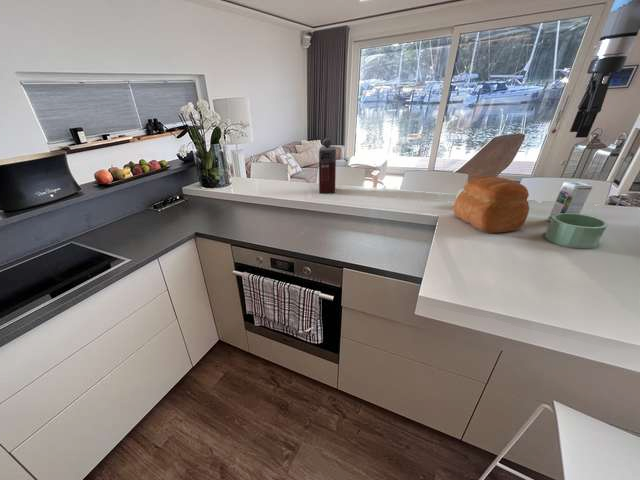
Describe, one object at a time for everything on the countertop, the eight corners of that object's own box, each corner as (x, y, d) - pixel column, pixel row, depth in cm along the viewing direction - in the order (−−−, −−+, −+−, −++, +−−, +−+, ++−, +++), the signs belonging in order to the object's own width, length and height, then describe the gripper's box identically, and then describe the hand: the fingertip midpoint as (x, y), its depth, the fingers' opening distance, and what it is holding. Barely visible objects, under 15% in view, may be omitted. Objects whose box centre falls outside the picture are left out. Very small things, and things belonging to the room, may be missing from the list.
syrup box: (546, 219, 110) (562, 181, 102) (564, 219, 109) (581, 181, 101) (556, 225, 105) (574, 186, 97) (575, 225, 104) (594, 185, 97)
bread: (481, 235, 102) (495, 189, 94) (447, 215, 121) (456, 174, 112) (528, 231, 103) (547, 184, 94) (487, 211, 121) (500, 170, 113)
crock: (573, 230, 100) (582, 212, 97) (608, 247, 89) (620, 226, 86) (535, 233, 101) (542, 214, 98) (565, 249, 90) (575, 229, 86)
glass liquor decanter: (319, 194, 159) (318, 140, 145) (319, 189, 169) (318, 138, 155) (335, 194, 158) (336, 139, 144) (334, 188, 167) (335, 136, 153)
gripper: (585, 60, 95) (558, 130, 106) (600, 56, 78) (567, 140, 89) (617, 57, 92) (586, 129, 102) (641, 52, 74) (601, 140, 85)
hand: (577, 134), depth 96 cm, fingers open, 13 cm apart
